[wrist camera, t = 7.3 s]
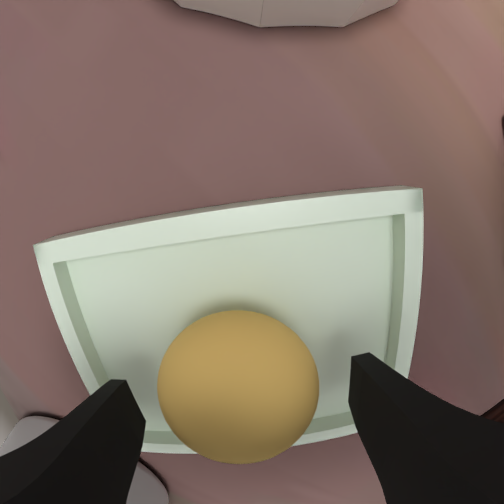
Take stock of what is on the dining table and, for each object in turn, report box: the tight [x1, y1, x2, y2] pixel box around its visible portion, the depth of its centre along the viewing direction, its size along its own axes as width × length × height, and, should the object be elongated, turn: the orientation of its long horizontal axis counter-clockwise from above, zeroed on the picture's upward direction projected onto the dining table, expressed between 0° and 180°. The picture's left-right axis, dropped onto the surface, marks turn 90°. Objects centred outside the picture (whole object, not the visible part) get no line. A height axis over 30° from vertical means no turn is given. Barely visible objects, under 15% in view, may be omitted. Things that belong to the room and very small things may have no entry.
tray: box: [33, 185, 423, 454], centre depth 11 cm, size 14×11×2 cm
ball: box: [157, 310, 319, 464], centre depth 9 cm, size 5×5×5 cm
